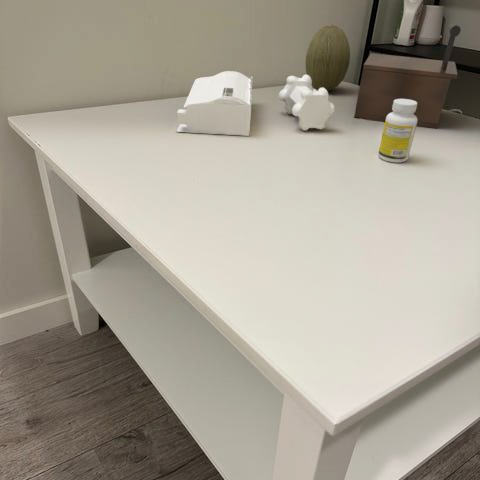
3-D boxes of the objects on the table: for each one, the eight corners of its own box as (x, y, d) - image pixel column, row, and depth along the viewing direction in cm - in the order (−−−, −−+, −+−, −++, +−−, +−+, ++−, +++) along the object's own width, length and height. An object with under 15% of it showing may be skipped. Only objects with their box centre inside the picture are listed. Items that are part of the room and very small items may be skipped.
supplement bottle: (388, 150, 91) (401, 95, 85) (413, 159, 88) (428, 102, 82) (371, 156, 88) (383, 100, 82) (396, 165, 85) (411, 107, 79)
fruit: (352, 90, 128) (363, 26, 119) (331, 98, 121) (341, 29, 112) (315, 83, 134) (324, 20, 124) (293, 89, 127) (300, 23, 117)
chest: (436, 111, 116) (449, 65, 110) (436, 128, 104) (451, 78, 98) (361, 102, 120) (369, 57, 113) (353, 117, 108) (363, 68, 102)
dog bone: (333, 132, 99) (339, 90, 94) (292, 132, 97) (297, 89, 92) (312, 111, 110) (317, 73, 105) (275, 111, 109) (279, 72, 104)
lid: (453, 65, 109) (466, 20, 104) (456, 78, 98) (471, 29, 93) (370, 56, 113) (378, 13, 108) (363, 68, 102) (372, 20, 97)
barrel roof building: (189, 100, 114) (189, 67, 109) (251, 103, 114) (253, 71, 110) (176, 132, 94) (174, 94, 90) (250, 136, 94) (252, 98, 90)
